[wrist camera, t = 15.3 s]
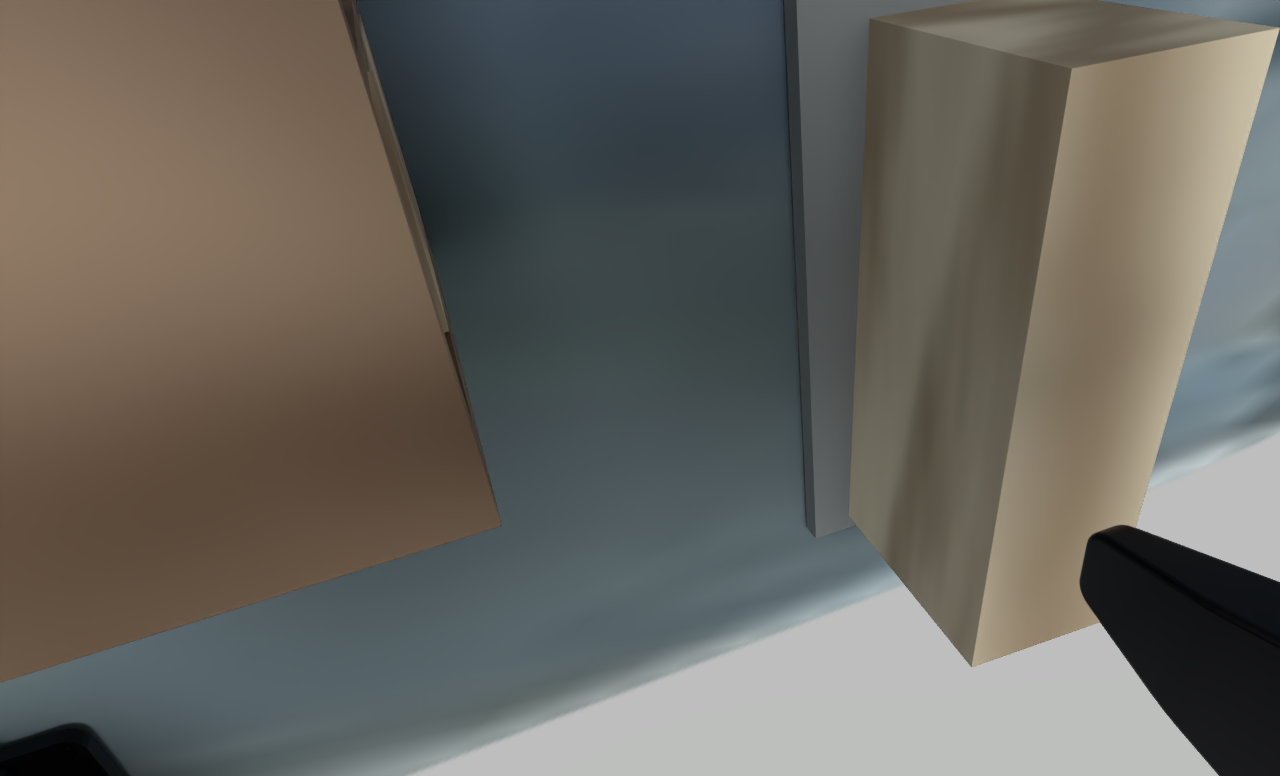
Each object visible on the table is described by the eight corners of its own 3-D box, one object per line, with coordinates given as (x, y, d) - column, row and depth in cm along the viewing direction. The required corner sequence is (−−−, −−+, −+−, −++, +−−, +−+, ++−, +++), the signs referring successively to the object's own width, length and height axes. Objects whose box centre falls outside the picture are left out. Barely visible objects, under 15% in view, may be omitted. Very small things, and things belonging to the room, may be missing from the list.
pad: (1003, 460, 27) (1016, 471, 27) (807, 526, 26) (815, 538, 25) (1073, -108, 18) (1093, -107, 18) (781, -49, 17) (795, -47, 17)
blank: (1031, -10, 19) (1280, 28, 14) (964, 481, 26) (1109, 618, 21) (869, 18, 18) (1071, 68, 13) (848, 515, 25) (971, 667, 20)
